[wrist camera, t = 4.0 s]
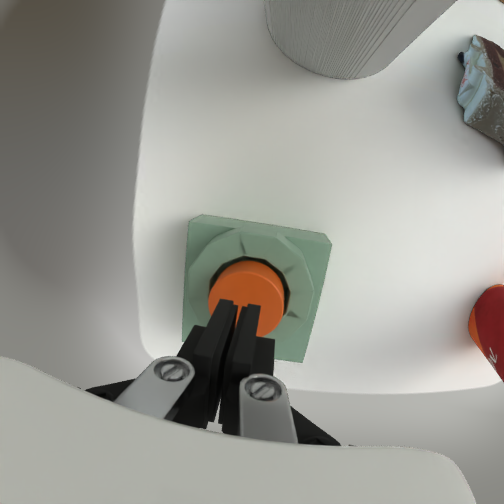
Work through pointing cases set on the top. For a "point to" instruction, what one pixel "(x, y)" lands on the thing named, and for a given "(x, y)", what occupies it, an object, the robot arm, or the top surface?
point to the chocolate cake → (483, 87)
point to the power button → (251, 292)
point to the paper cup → (490, 326)
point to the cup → (348, 32)
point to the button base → (268, 253)
